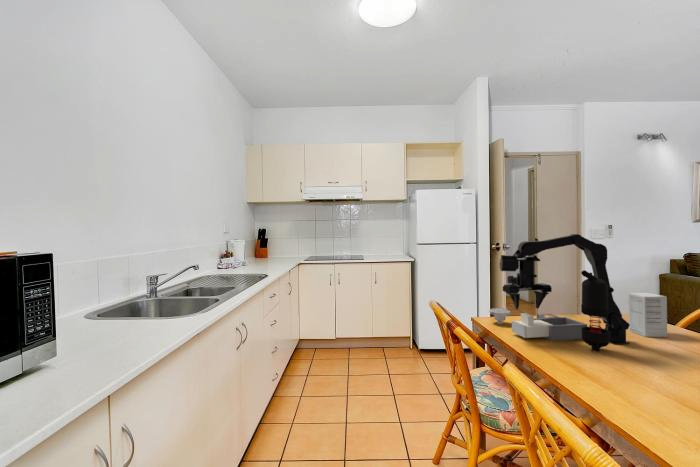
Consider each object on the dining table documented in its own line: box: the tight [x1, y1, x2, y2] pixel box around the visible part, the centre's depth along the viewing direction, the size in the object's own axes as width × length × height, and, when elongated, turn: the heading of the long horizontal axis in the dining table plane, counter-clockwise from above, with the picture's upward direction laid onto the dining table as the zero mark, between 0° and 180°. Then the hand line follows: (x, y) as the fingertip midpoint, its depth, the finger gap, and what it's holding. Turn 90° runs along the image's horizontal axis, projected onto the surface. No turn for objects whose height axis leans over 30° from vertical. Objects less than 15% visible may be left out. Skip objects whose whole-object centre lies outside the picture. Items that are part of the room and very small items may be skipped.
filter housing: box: [534, 313, 588, 342], centre depth 150 cm, size 18×16×6 cm
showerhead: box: [488, 307, 512, 325], centre depth 166 cm, size 9×7×10 cm
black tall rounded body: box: [580, 269, 615, 352], centre depth 129 cm, size 14×9×30 cm
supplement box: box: [627, 292, 668, 338], centre depth 148 cm, size 10×9×17 cm
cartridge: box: [511, 312, 552, 339], centre depth 146 cm, size 9×13×8 cm
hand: (527, 308), depth 145 cm, fingers open, 9 cm apart
